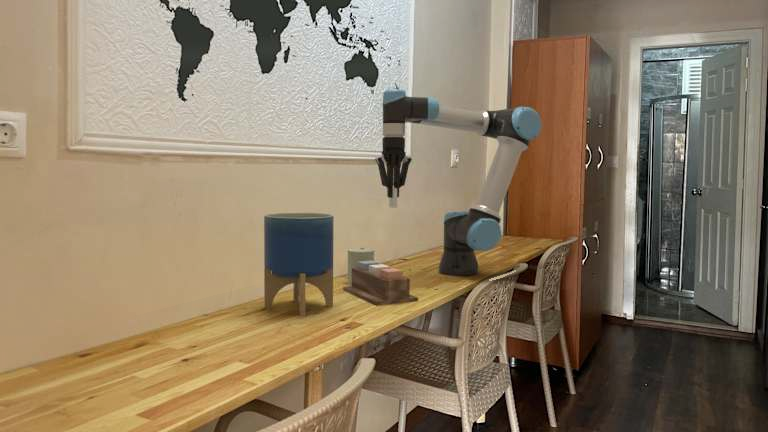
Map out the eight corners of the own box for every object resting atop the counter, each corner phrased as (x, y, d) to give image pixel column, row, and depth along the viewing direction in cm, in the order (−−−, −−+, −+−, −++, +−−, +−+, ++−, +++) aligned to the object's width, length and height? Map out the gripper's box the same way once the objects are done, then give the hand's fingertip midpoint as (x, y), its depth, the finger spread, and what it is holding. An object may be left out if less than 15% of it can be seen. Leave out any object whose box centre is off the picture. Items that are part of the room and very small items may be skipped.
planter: (327, 298, 186) (328, 212, 184) (338, 314, 167) (338, 217, 165) (262, 301, 181) (262, 212, 179) (266, 317, 163) (265, 218, 160)
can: (375, 281, 215) (375, 246, 214) (372, 286, 206) (372, 250, 205) (349, 280, 216) (349, 246, 215) (345, 285, 206) (345, 249, 205)
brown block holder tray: (381, 286, 205) (381, 265, 205) (418, 301, 184) (418, 277, 183) (343, 289, 199) (343, 268, 198) (376, 305, 178) (376, 281, 177)
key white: (382, 284, 195) (382, 264, 194) (390, 287, 190) (390, 266, 190) (368, 285, 192) (368, 265, 192) (375, 288, 188) (375, 267, 187)
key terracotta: (394, 289, 188) (395, 268, 187) (402, 292, 183) (402, 270, 183) (380, 290, 185) (380, 269, 185) (387, 293, 181) (388, 272, 180)
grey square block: (371, 280, 202) (371, 260, 201) (378, 282, 197) (378, 262, 197) (357, 281, 199) (357, 261, 199) (364, 284, 195) (364, 263, 194)
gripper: (405, 137, 211) (404, 206, 213) (371, 136, 205) (370, 207, 207) (416, 136, 205) (415, 207, 207) (381, 135, 199) (381, 208, 201)
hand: (393, 207), depth 207 cm, fingers closed
